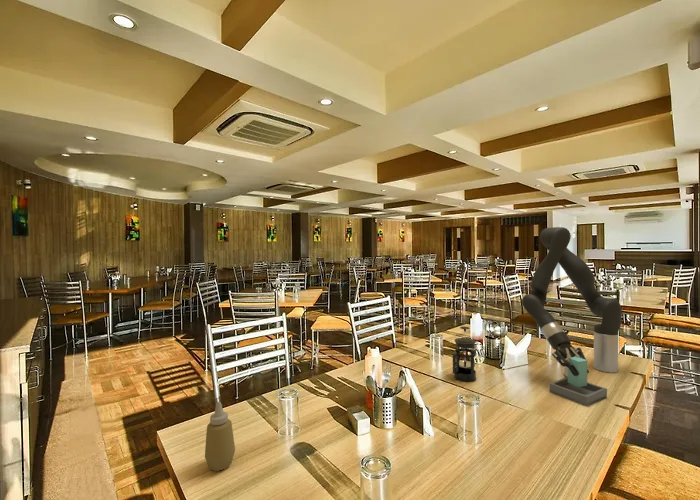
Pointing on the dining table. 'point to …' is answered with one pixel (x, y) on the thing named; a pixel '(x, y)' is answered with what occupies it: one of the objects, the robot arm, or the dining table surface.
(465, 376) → the french press
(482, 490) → the dining table surface
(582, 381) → the green tall block
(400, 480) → the dining table surface
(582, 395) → the tray
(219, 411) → the squeeze bottle
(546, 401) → the dining table surface
